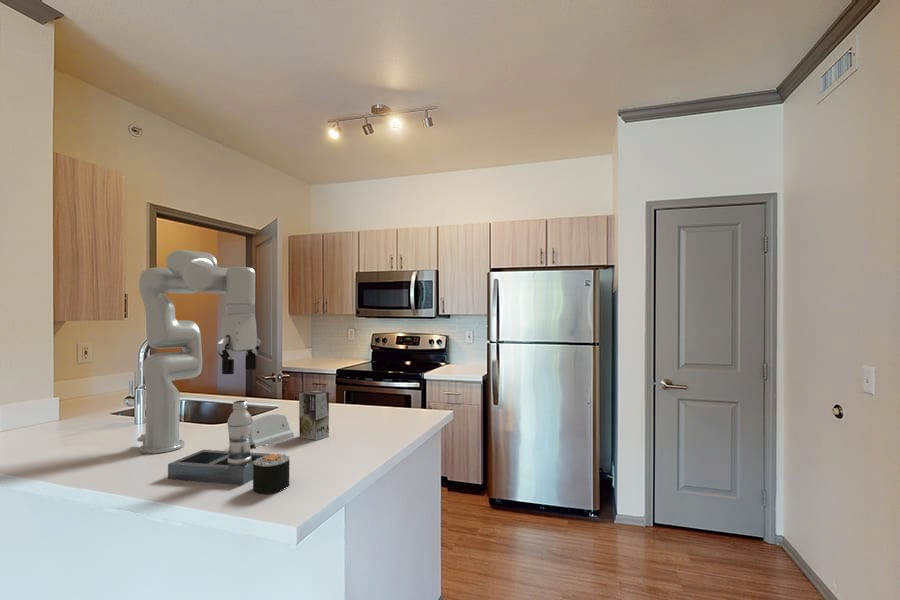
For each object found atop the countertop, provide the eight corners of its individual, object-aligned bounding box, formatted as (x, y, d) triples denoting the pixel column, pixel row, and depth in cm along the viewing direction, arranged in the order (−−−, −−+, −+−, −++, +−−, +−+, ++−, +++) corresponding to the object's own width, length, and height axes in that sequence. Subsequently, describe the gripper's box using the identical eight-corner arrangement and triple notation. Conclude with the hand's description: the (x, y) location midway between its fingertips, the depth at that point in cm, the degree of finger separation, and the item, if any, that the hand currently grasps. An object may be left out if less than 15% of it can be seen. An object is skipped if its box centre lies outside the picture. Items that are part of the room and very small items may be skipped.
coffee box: (329, 436, 163) (329, 391, 163) (315, 440, 157) (315, 394, 158) (312, 433, 168) (312, 389, 168) (298, 437, 162) (298, 392, 163)
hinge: (255, 448, 148) (248, 418, 150) (246, 451, 150) (240, 422, 152) (295, 436, 163) (288, 409, 165) (286, 439, 165) (280, 412, 167)
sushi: (246, 491, 113) (246, 459, 113) (272, 480, 120) (272, 450, 120) (270, 496, 109) (271, 463, 110) (295, 484, 117) (295, 453, 117)
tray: (167, 478, 122) (168, 463, 122) (203, 463, 134) (203, 449, 134) (243, 484, 117) (243, 469, 117) (272, 467, 130) (272, 453, 130)
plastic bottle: (246, 468, 130) (246, 398, 130) (256, 473, 125) (256, 401, 125) (222, 473, 125) (223, 401, 126) (231, 480, 120) (232, 405, 121)
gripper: (248, 310, 136) (247, 367, 136) (206, 310, 119) (205, 375, 119) (270, 310, 134) (270, 368, 134) (231, 310, 118) (230, 376, 117)
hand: (239, 371), depth 126 cm, fingers open, 9 cm apart
